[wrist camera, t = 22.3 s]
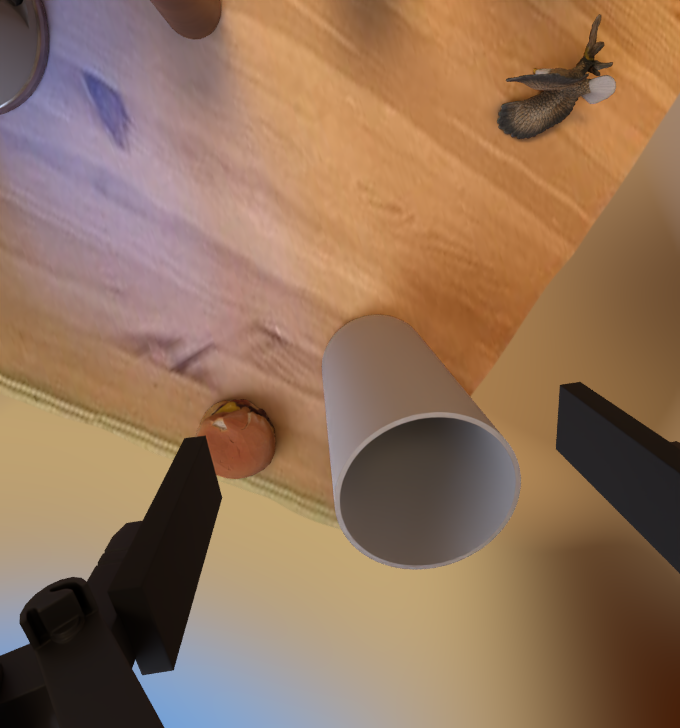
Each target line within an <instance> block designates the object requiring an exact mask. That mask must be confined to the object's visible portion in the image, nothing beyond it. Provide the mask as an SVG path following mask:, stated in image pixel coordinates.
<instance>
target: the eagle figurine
mask: <svg viewBox="0 0 680 728" xmlns="http://www.w3.org/2000/svg"><path fill="white" fill-rule="evenodd" d="M600 21H601V15H600V14H599V15H598V16H597V17H596V19H595V21H594V22H593V24H592V29H591V32H590V36H589V42H588V44H587V46H586V49H585V52H584V56H583V58H582V59H581V60H580V62H579V63H577V65H576V67H575V68H573V69H570V70H567V69H562V68H555V69H536V68H534V70H533V71H534V73H535V74H534V75H523V76H519V77H514V78H508V79H506V81H507V82H511V81H517V82H521V83H524V84H526V85H527V86H529V87H531V88H533V89H535V90H544V91H543V92H542V93H540V94H539V95H536V96H534V97H531V98H529V99H526V100H523V101H515V102H509V103H506V104H503V105H502V106H501V108H502V110H501V111H500V112H499V116H500V117H499V118H498V120H497V123H499V128H500V129H503V130H504V133H505V134H510V133H512V135H511V136H512V137H517V138H518V139H524V138H530V137H535V136H536V135H537V134H540V133H542V132H544V131H545V130H546V129H549V128H550V127H553V126H554V125H555V124H558V123H560V122H562V120H564V119H565V118H566V117H567V116H568V115H569V114H570V112H571V111H572V110H573V106H574V105H575V102H576V101H577V100H578V97H580V96H582V97H583V98H584V99H585V100H586V101H587V102H588V103H590V104H595V103H598V102H600V101H602V100H604V99H607V98H608V97H609V96H610V95H612V94H613V93H614V92H615V89H616V82H615V80H614V78H612V77H611V76H609V75H604V76H600V72H599V71H598V70H600V69H603V68H608V67H611V66H612V65H613V62H610V63H601V62H599V61H597V60H594V56H595V55H596V54H597V53H598V52H599V51H600V50H601V49H602V48H603V47H604V42H597V43H596V39H597V30H598V26H599V24H600ZM586 72H590V73H593V74H594V75H596V76H599V77H597V78H594V79H587V77H588V76H589V73H588V74H586Z"/></svg>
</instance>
